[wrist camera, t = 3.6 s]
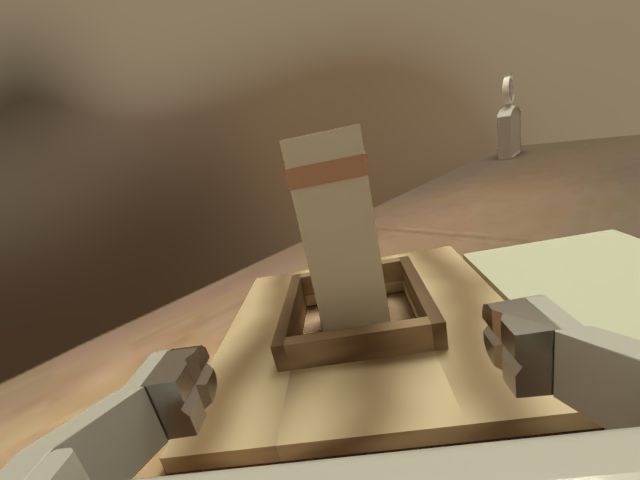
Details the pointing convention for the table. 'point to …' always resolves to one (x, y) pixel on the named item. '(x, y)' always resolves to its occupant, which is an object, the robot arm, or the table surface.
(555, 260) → the pad
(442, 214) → the table surface
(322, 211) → the banded cream pillar
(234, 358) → the wooden square socket board
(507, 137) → the grey block with loop
